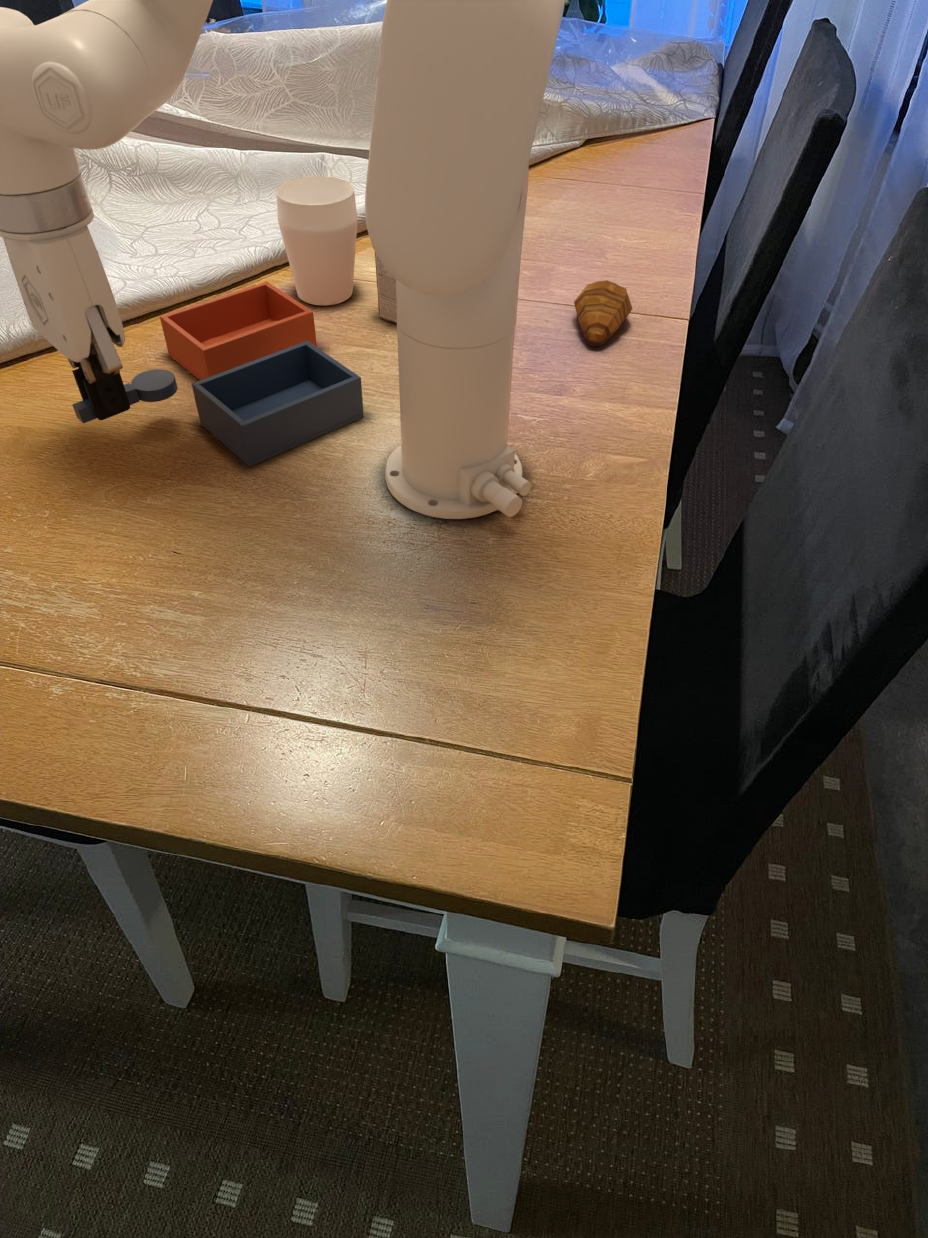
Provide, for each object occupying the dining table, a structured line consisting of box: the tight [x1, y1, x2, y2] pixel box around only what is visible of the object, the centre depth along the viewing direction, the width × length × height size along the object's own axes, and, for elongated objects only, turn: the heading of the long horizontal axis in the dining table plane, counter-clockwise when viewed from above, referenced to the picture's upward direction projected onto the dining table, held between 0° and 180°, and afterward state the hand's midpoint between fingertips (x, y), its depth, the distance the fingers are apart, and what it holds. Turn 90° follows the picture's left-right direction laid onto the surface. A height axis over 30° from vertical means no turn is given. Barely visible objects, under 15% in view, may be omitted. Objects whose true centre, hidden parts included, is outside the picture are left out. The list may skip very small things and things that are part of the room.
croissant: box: [573, 279, 633, 347], centre depth 101 cm, size 14×7×5 cm, turn 168°
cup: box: [275, 175, 358, 306], centre depth 102 cm, size 9×9×12 cm
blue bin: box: [191, 341, 364, 468], centre depth 86 cm, size 9×13×4 cm
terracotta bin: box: [159, 281, 318, 381], centre depth 95 cm, size 9×13×4 cm
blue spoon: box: [71, 368, 178, 424], centre depth 82 cm, size 10×4×1 cm, turn 131°
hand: (108, 408), depth 81 cm, fingers closed on blue spoon, 1 cm apart
